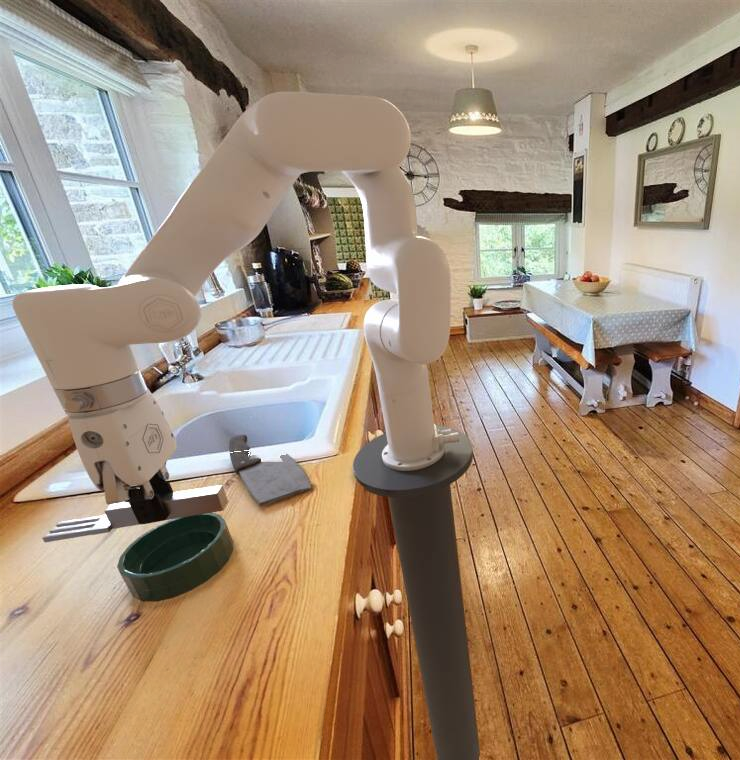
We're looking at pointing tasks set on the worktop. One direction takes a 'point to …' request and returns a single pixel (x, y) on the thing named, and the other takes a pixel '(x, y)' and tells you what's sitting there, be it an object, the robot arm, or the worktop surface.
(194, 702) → the worktop surface
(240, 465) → the cleaver
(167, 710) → the worktop surface
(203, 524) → the bowl
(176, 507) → the fork
